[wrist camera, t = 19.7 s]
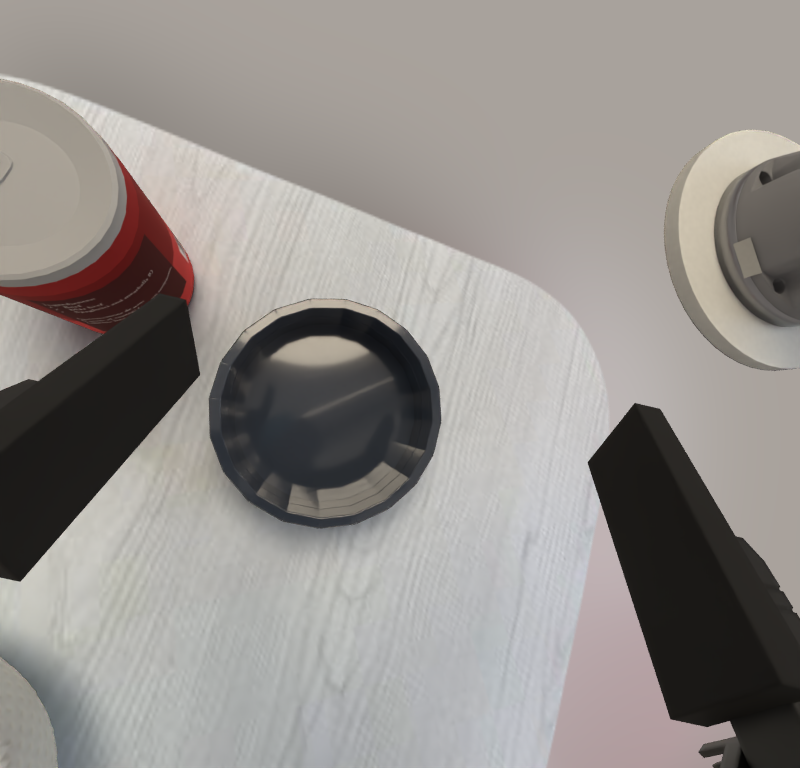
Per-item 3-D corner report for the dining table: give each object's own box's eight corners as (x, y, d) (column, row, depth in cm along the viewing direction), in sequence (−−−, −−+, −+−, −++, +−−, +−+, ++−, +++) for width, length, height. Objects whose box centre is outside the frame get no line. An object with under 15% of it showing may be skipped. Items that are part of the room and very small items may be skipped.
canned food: (81, 202, 24) (-96, 36, 14) (214, 246, 26) (149, 128, 15) (36, 317, 23) (-195, 233, 13) (177, 355, 25) (79, 309, 14)
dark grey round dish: (414, 317, 29) (433, 299, 24) (425, 497, 28) (447, 512, 23) (223, 317, 26) (206, 297, 21) (228, 520, 25) (212, 542, 20)
